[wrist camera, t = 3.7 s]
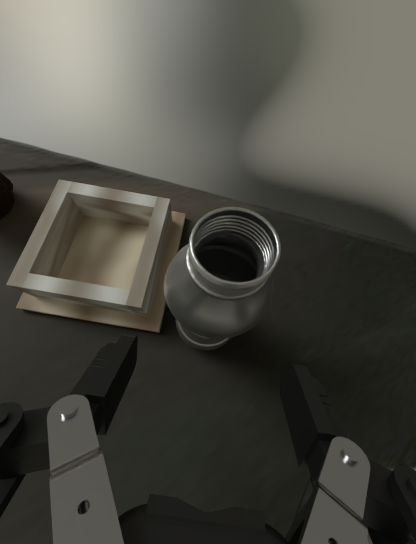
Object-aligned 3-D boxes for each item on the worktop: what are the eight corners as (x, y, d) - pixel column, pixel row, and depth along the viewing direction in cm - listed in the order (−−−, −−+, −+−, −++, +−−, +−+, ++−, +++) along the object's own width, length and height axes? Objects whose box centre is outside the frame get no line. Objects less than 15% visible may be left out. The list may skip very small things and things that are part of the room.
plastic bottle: (235, 350, 27) (336, 323, 8) (176, 352, 26) (144, 328, 8) (231, 296, 29) (303, 180, 11) (176, 297, 29) (153, 177, 10)
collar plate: (185, 217, 33) (185, 191, 28) (159, 332, 27) (152, 325, 22) (72, 197, 33) (51, 167, 28) (21, 309, 27) (-18, 297, 22)
